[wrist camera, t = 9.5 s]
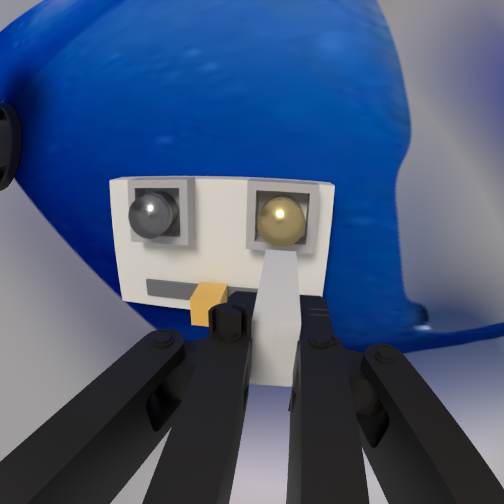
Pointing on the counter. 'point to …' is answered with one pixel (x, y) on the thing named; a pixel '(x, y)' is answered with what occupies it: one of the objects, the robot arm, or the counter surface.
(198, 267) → the console
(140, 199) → the grey button
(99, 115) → the counter surface
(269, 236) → the brass button
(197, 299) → the slider knob
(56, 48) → the counter surface
